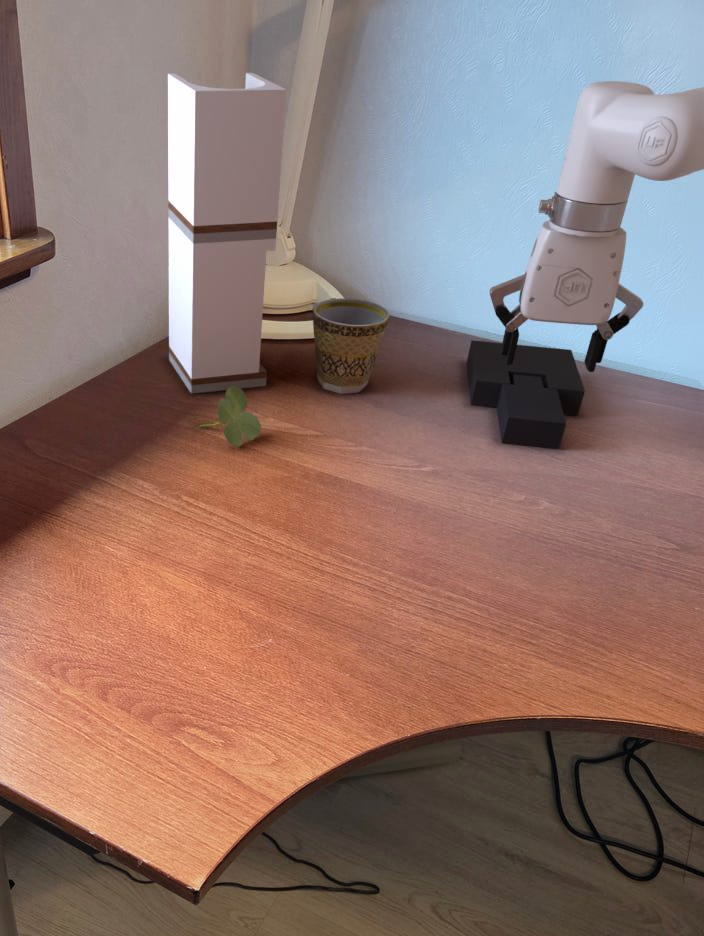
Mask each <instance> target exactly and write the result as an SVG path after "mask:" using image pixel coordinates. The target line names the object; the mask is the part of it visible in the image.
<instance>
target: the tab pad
mask: <svg viewBox="0 0 704 936" xmlns="http://www.w3.org/2000/svg"><path fill="white" fill-rule="evenodd" d="M496 413H497V414H496V415H497V420H498V427H499V433H500V440H501V441H500V442H501V443H502V444H510V445H519V446H529V447H536V448H537V447H538V448H546V449H557V450H559V449H560V446H561V442H562V440H563V437H564V433H565V429H566V426H567V419H566V417H565V416H566V415H564V413H563V409H562V405H561V402H560V398H559V395H558V391H557V389H550V388H544V387H543V383H542V379H541V377H535V376H525V375H515V374H514V375H513V379H512V383H511V384H502V388H501V392H500V396H499V400H498V404H497V408H496Z"/></svg>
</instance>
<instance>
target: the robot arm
mask: <svg viewBox="0 0 704 936" xmlns="http://www.w3.org/2000/svg"><path fill="white" fill-rule="evenodd" d="M576 103H577V104H576V107H575V111H574V116H573V120H572V124H571V128H570V132H569V135H568V136H569V137H568V141H567V145H566V149H565V154H564V157H563V162H562V168H561V171H560V175H559V179H558V184H557V188H556V191H554V194H553V196H551V198H547V199H540V202H539V206H538V214H544V215H546V216H548V218H549V220H546V221H544V222H543V223H542V225H541V227H540V229H539V232H538V234H537V236H536V239H535V242H534V244H533V248H532V250H531V253H530V256H529V259H528V262H527V265H526V269H525V271H524V272H525V273H524V274H521V275H519V276H517V277H514V278H512V279H509V280H507V281H503V282H502V283H498V284H497V285H494V286H492V287H490V288H489V296H490V300H491V303H492V306H493V310H494V312H495V313H494V314H495V316H496V317H497V319H498V320H499V321H500V322H501V324H502V325H503V326H504V328H505V329H504V333H503V338H502V342H501V343H502V347H501V355H505V362H506V365H511V364H513V360H514V355H515V351H516V347H517V345H518V342H519V339H520V331H519V327H521V326H522V325H523V324H524V323H526V321H528V320H530V321H533V322H534V321H535V322H542V323H543V322H545V323H556V324H567V325H569V324H570V325H583V326H596V330H594V331H593V332H592V333H591V337H590V340H589V344H588V347H587V350H586V354H585V357H584V365H585V368H586V370H587V371H588V372H589V373H594V372H595V370H596V366H597V364H601V363H602V360H603V358H604V355H605V351H606V348H607V344H608V341H609V340H611V339H612V338H613V337H614V335H615V334H617V333H619V332H620V331H621V330H623V329H624V328H625V327H627V326H628V325H629V324H630V321H631V320H632V319H633V318H635V317H636V315H638V313H639V312H640V311H641V310H642V308H643V307H644V301H643V299H642V298H641V297H640V296H638V295H636V293H634V292H633V291H632V290H629V289H628V288H627V287H625V286H623V284H621V283H620V279H621V275H622V271H623V270H622V269H623V264H624V258H625V252H626V245H627V244H626V243H627V232H626V230H625V229H624V228H623V227H621V226H622V223H623V219H624V215H625V212H626V208H627V204H628V201H629V198H630V193H631V190H632V186H633V184H634V179H635V176H638V177H640V178H644V179H647V180H650V181H656V182H668V181H672V180H676V179H679V178H682V177H685V176H689V175H691V174H694V173H696V172H699V171H702V170H704V86H703V87H696V88H692V89H686V90H684V91H679V92H674V93H664V94H655V92H654V91H653V90H652V89H651V88H650V87H648V86H647V85H644V84H640V83H636V82H628V81H621V80H620V81H619V80H617V81H616V80H606V81H603V80H602V81H597V82H593V83H590V84H587V86H585V87H584V89H583V90H582V91H581V92H580V94H579V97H578V99H577V102H576ZM517 292H519V297H518V303H519V304H518V305H517V306H515V308H514V309H513V310H511V311H510V310H509V309H508V307H507V306H506V304H505V301H504V300H505V298H506V297H507V296H509V295H512V294H516V293H517ZM616 300H618V301H620V302H622V304H624V305H625V306H624V307H623V308H622V310H621V311H620V312H618V313H617V314H615V315H614V316H612V312H613V309H614V305H615V302H616ZM611 316H612V317H611Z"/></svg>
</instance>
